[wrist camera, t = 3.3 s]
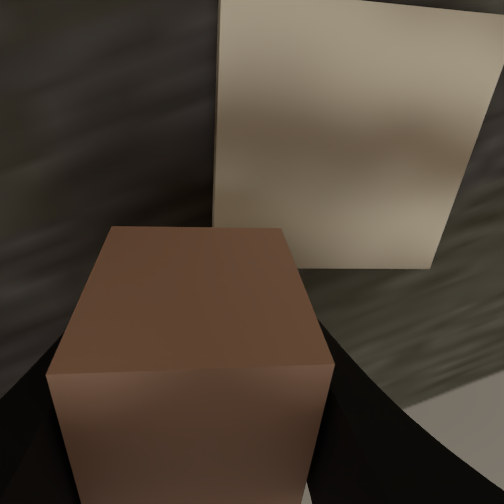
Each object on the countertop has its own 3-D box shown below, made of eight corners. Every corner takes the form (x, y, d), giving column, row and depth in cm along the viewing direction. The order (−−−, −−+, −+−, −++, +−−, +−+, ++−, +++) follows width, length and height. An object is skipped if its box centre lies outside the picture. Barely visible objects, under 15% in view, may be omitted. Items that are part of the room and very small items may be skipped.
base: (409, 247, 20) (429, 268, 18) (211, 245, 18) (212, 268, 17) (483, 17, 15) (520, 16, 13) (218, -10, 13) (221, -15, 12)
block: (266, 348, 13) (299, 510, 9) (127, 353, 12) (88, 528, 8) (281, 228, 11) (334, 363, 6) (111, 226, 10) (45, 374, 6)
